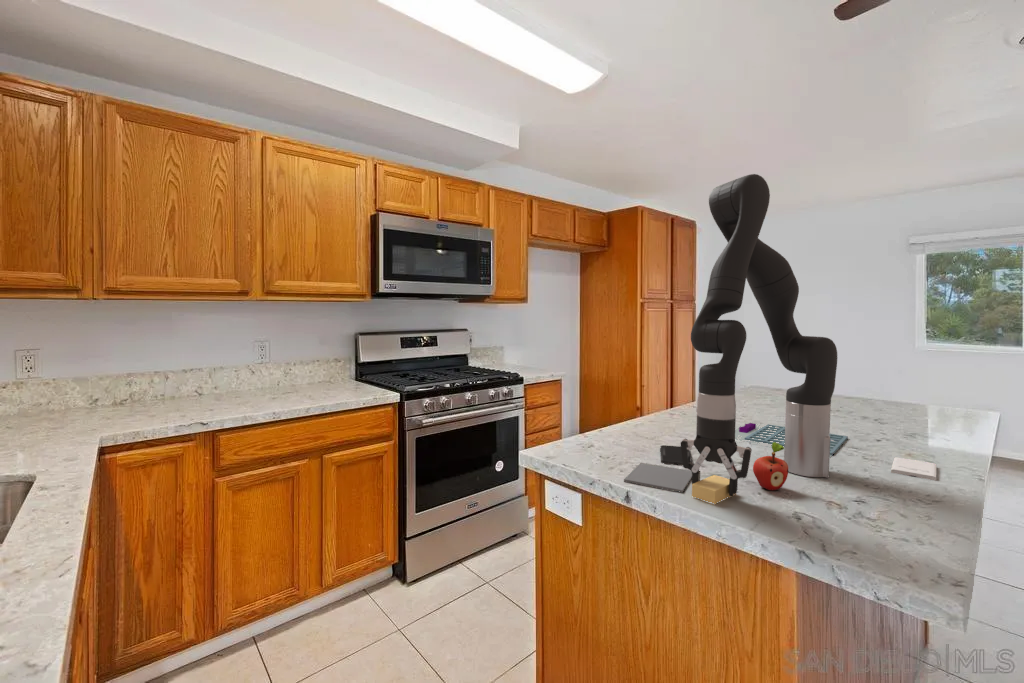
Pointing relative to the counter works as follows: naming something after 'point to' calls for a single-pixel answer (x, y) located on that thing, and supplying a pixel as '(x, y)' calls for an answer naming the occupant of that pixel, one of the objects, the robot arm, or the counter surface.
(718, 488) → the card box
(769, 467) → the apple
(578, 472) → the counter surface
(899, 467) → the external hard drive
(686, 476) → the mat
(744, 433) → the calendar
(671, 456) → the phone
